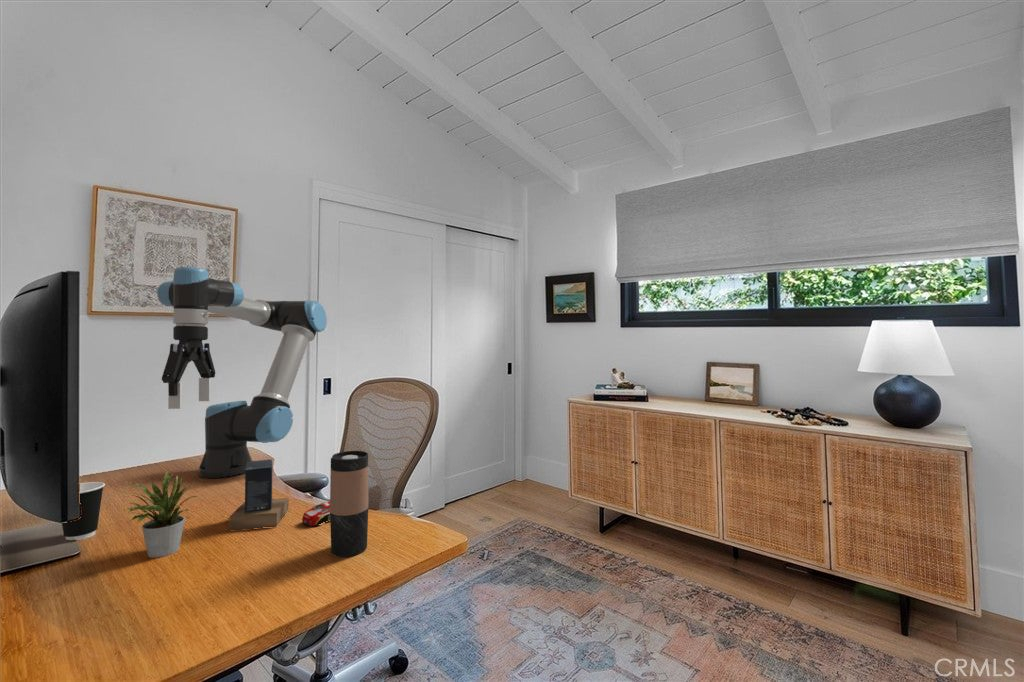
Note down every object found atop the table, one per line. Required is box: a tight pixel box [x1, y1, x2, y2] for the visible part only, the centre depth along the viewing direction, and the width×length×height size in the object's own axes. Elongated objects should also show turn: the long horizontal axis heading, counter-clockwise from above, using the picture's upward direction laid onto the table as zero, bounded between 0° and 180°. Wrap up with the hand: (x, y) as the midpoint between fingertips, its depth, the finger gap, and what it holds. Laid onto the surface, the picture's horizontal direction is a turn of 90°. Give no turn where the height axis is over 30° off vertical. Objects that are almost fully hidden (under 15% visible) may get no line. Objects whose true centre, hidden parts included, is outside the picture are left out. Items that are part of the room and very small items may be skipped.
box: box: [244, 459, 273, 514], centre depth 109 cm, size 8×6×11 cm
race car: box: [301, 500, 330, 527], centre depth 111 cm, size 13×5×4 cm, turn 143°
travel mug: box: [329, 450, 369, 558], centre depth 94 cm, size 8×8×20 cm
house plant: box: [120, 471, 199, 559], centre depth 93 cm, size 14×14×16 cm
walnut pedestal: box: [229, 497, 290, 531], centre depth 109 cm, size 10×10×4 cm
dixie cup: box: [61, 481, 106, 541], centre depth 100 cm, size 8×8×11 cm
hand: (190, 404), depth 119 cm, fingers open, 13 cm apart
